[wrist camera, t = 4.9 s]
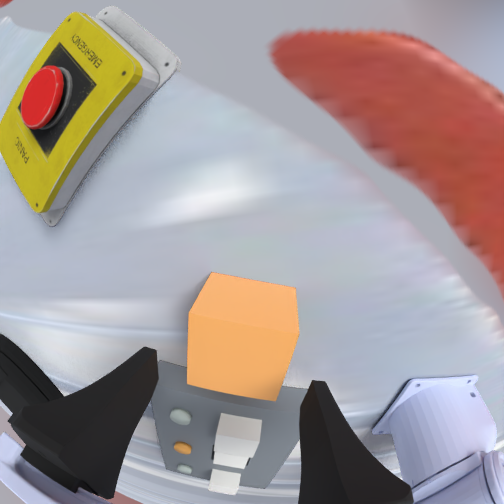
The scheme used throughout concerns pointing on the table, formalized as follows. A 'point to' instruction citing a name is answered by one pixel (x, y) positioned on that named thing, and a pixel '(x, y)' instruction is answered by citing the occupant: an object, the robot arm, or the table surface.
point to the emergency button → (78, 103)
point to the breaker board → (207, 425)
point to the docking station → (22, 380)
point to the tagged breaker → (230, 460)
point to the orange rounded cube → (242, 336)
